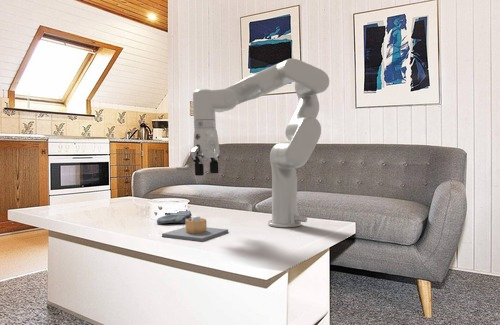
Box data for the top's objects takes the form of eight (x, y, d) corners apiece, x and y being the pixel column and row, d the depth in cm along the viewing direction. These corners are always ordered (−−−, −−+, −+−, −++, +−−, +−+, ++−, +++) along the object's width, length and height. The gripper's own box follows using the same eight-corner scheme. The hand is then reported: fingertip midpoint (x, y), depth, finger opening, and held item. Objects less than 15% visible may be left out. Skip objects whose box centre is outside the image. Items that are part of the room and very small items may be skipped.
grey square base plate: (228, 232, 140) (228, 215, 140) (202, 241, 126) (202, 222, 125) (190, 228, 147) (190, 212, 147) (162, 236, 133) (161, 218, 133)
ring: (209, 230, 138) (209, 219, 138) (198, 234, 132) (198, 222, 132) (193, 228, 141) (193, 217, 141) (181, 232, 135) (181, 220, 135)
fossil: (154, 226, 154) (154, 216, 154) (165, 218, 172) (164, 208, 172) (187, 226, 154) (187, 216, 154) (194, 218, 171) (194, 208, 171)
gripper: (200, 124, 131) (202, 176, 132) (226, 125, 147) (228, 172, 147) (181, 125, 134) (183, 176, 135) (208, 126, 150) (210, 172, 151)
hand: (207, 174), depth 141 cm, fingers open, 9 cm apart
